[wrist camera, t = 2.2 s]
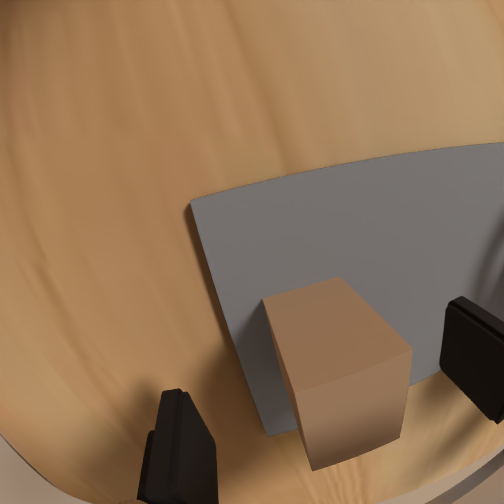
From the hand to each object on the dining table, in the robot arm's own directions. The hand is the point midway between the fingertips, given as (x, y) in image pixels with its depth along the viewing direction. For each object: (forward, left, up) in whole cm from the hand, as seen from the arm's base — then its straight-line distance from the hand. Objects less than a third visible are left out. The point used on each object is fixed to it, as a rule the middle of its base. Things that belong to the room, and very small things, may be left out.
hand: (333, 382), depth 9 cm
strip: (0, +10, -3) cm, 11 cm away
